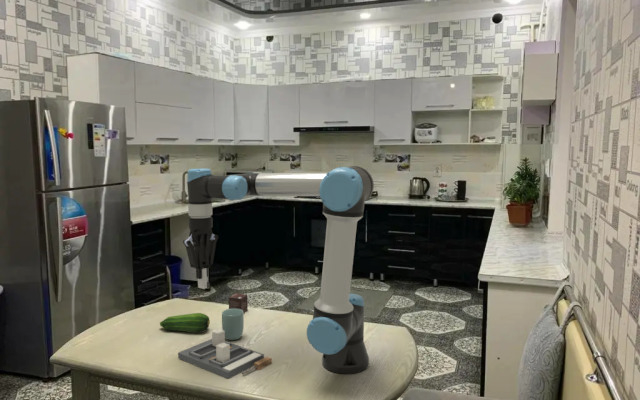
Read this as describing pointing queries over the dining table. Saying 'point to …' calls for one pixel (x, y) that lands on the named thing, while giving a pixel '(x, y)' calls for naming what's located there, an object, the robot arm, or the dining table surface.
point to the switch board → (206, 359)
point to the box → (238, 302)
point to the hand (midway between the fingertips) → (202, 287)
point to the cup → (233, 323)
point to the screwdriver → (260, 364)
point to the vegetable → (187, 323)
